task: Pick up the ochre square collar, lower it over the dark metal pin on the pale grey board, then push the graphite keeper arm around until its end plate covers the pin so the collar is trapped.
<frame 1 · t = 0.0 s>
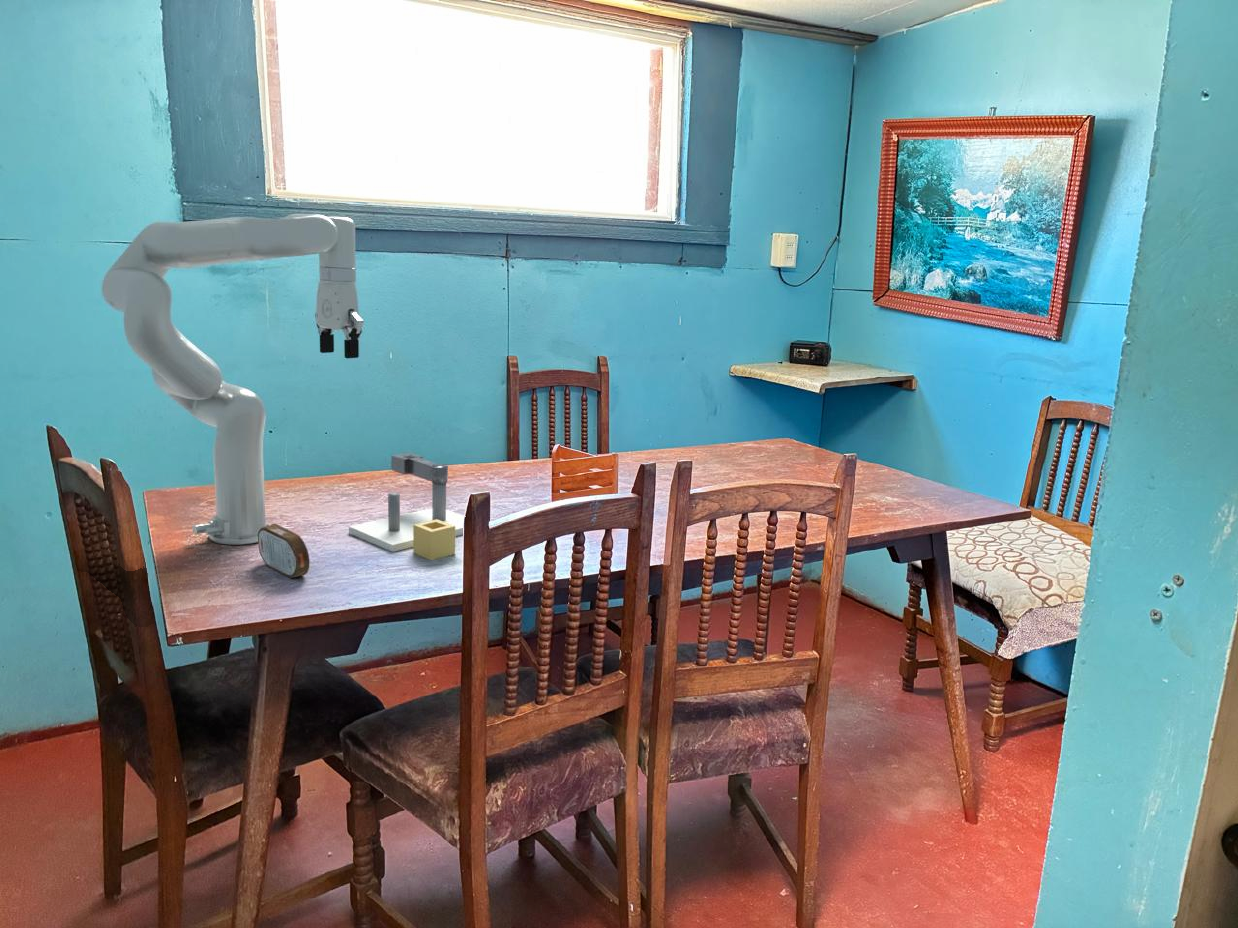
hand: (339, 355, 206), 37 cm above the table, tool pointing down, fingers open, 9 cm apart
collar: (434, 553, 193), on the table
tin: (283, 572, 179), on the table
keeper: (421, 468, 212), point 12 cm above the table, hinge at -90.0°
pin board: (417, 531, 206), on the table
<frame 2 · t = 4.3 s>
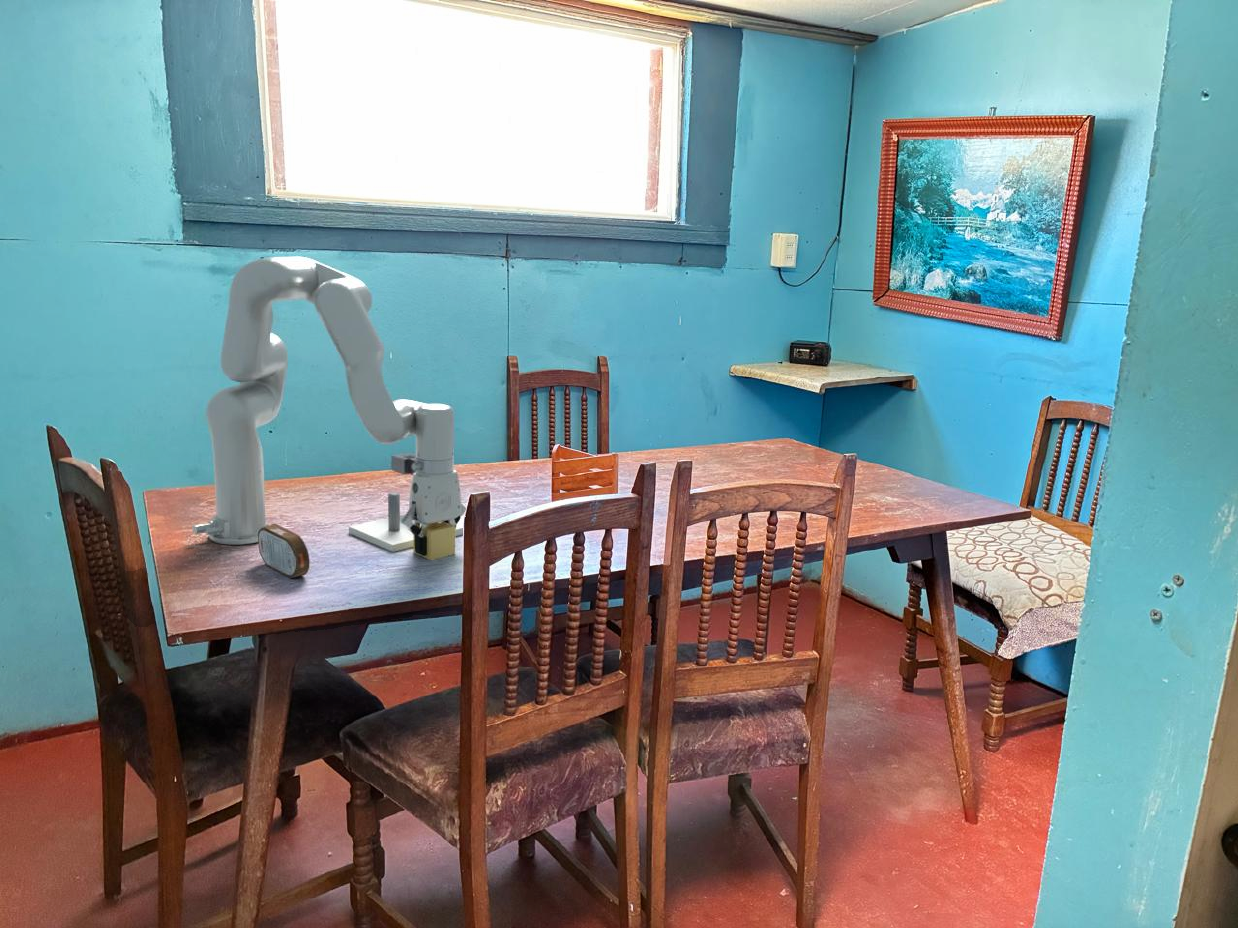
hand: (434, 549, 193), 1 cm above the table, tool pointing down, fingers closed on collar, 6 cm apart
collar: (434, 553, 193), on the table, touching gripper
everything else where it was.
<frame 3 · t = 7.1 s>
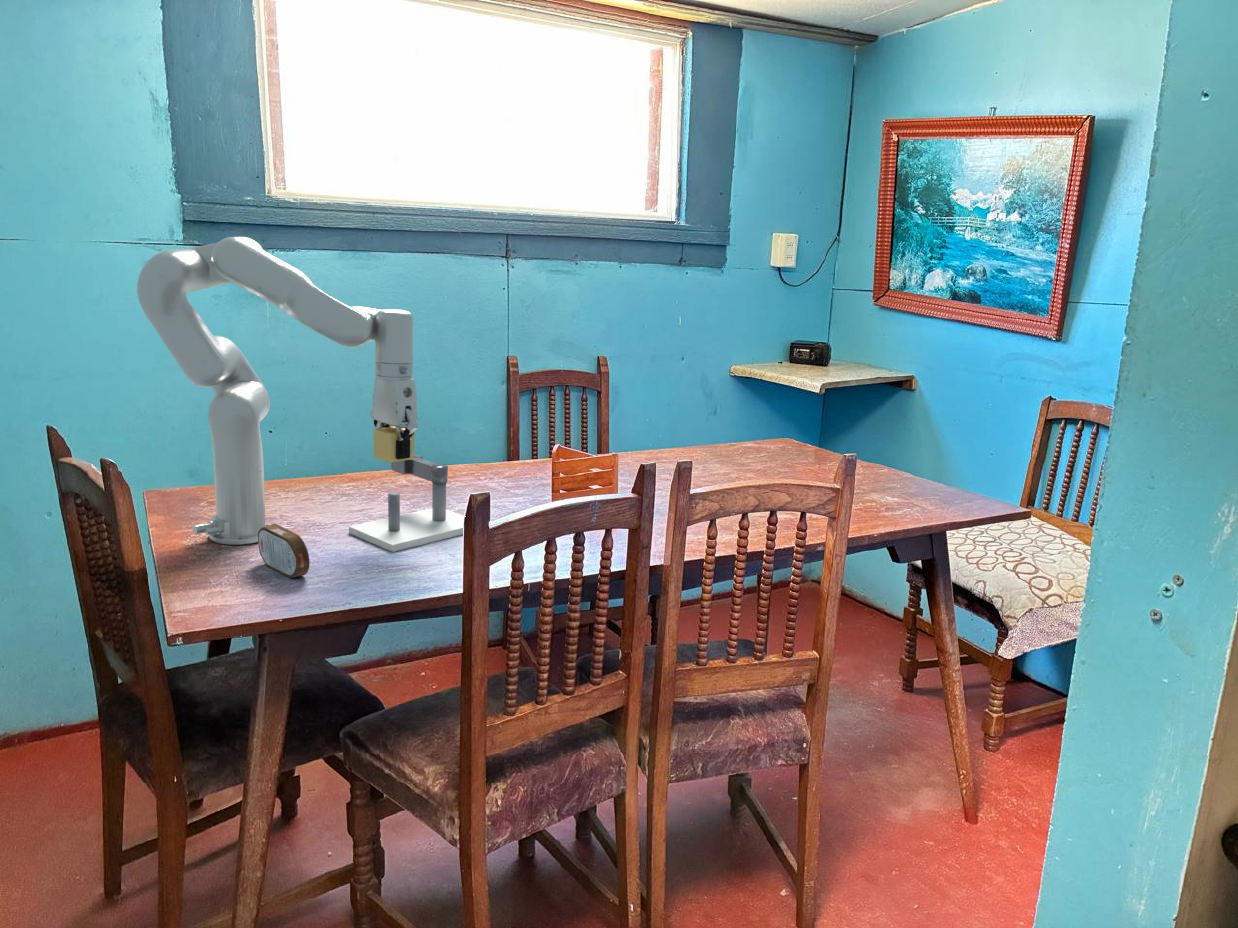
hand: (393, 454, 197), 18 cm above the table, tool pointing down, fingers closed on collar, 6 cm apart
collar: (393, 458, 198), point 17 cm above the table, touching gripper
everything else where it was.
when the fingers open (4 cm above the table, at t = 10.3 s): collar drops 2 cm, resting on pin board.
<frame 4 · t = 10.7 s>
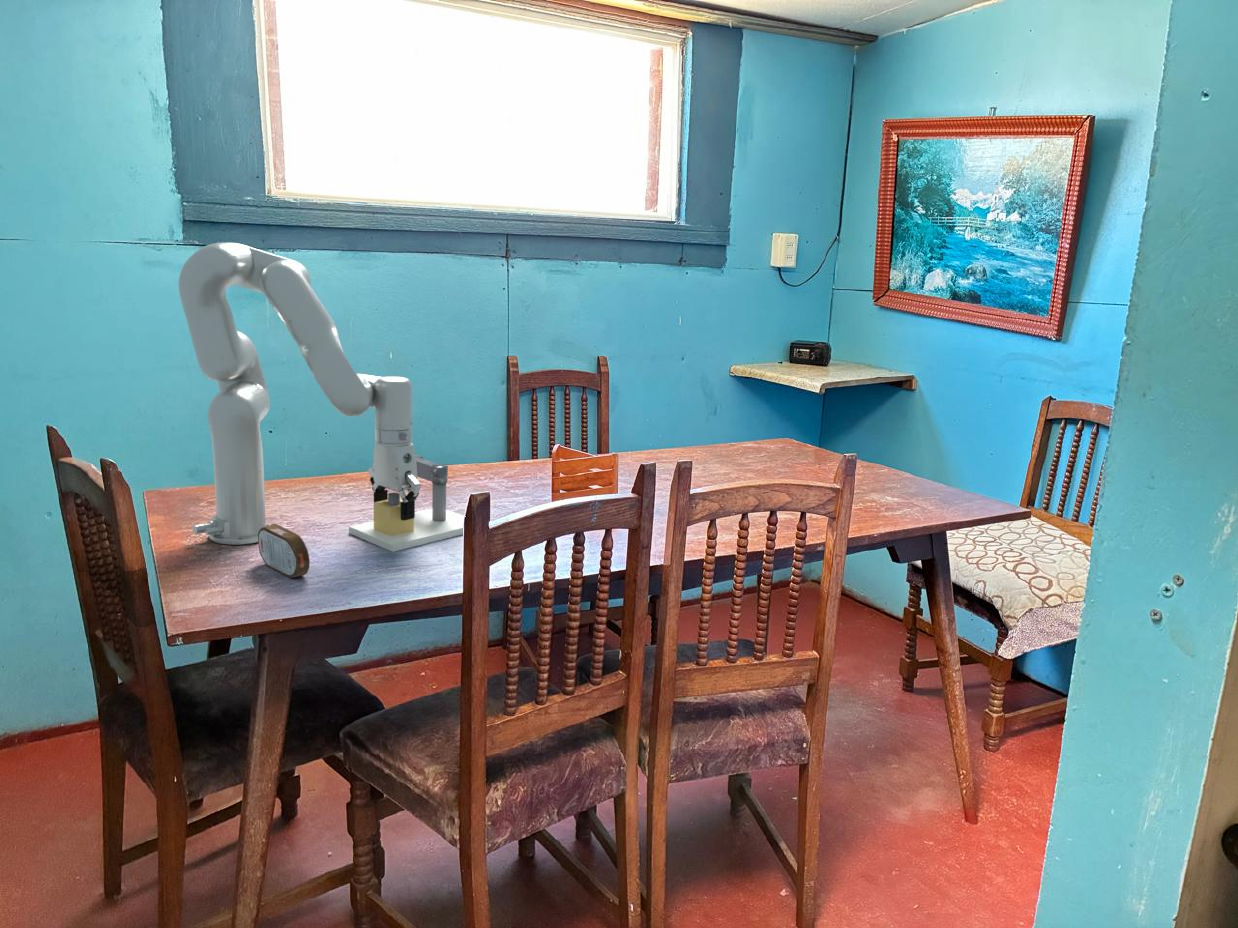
hand: (394, 513, 201), 5 cm above the table, tool pointing down, fingers open, 9 cm apart
collar: (393, 529, 202), point 1 cm above the table, touching pin board
everything else where it was.
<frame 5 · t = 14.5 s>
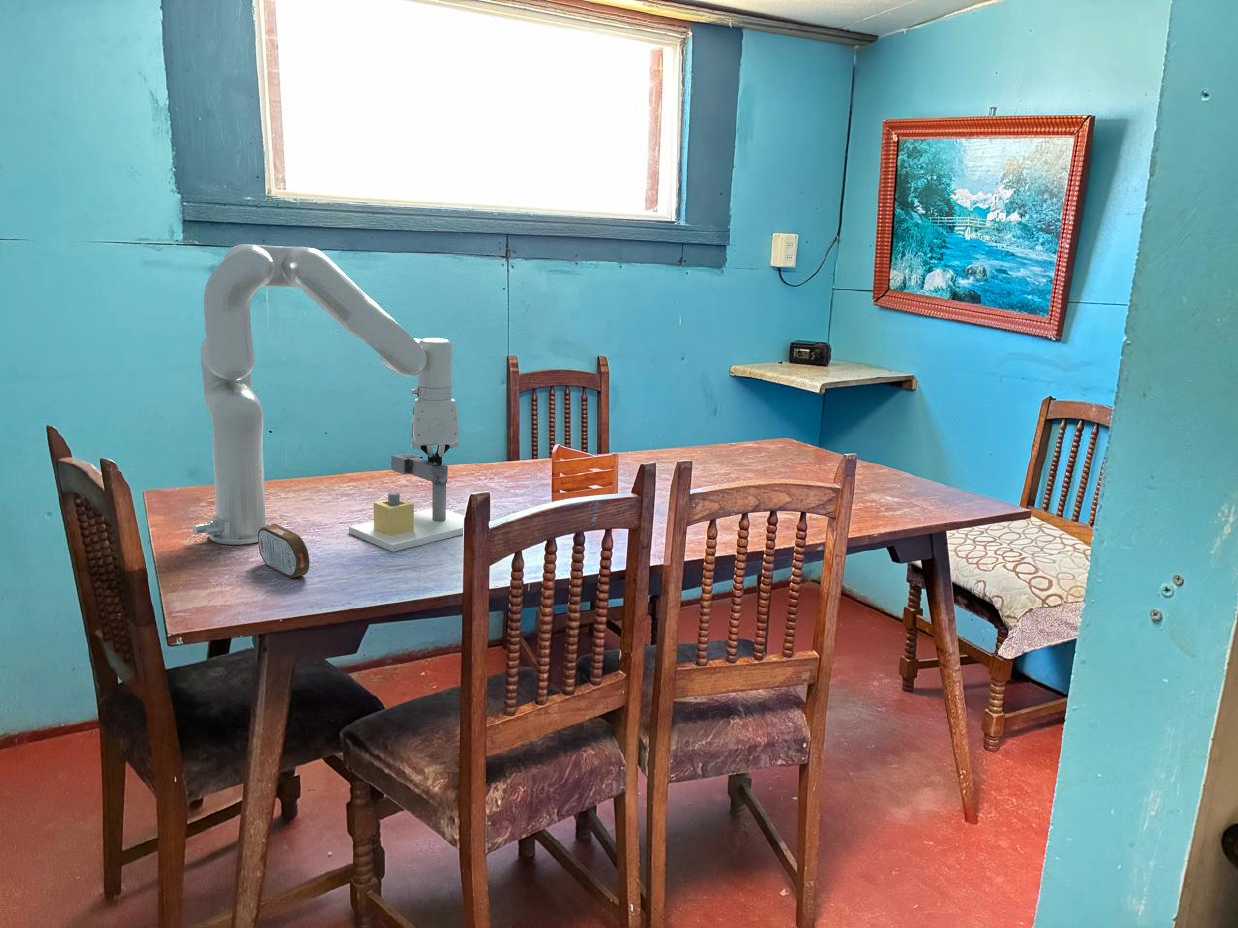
hand: (434, 472, 215), 11 cm above the table, tool pointing down, fingers closed
keeper: (421, 468, 212), point 12 cm above the table, hinge at -89.9°, touching gripper
everything else where it was.
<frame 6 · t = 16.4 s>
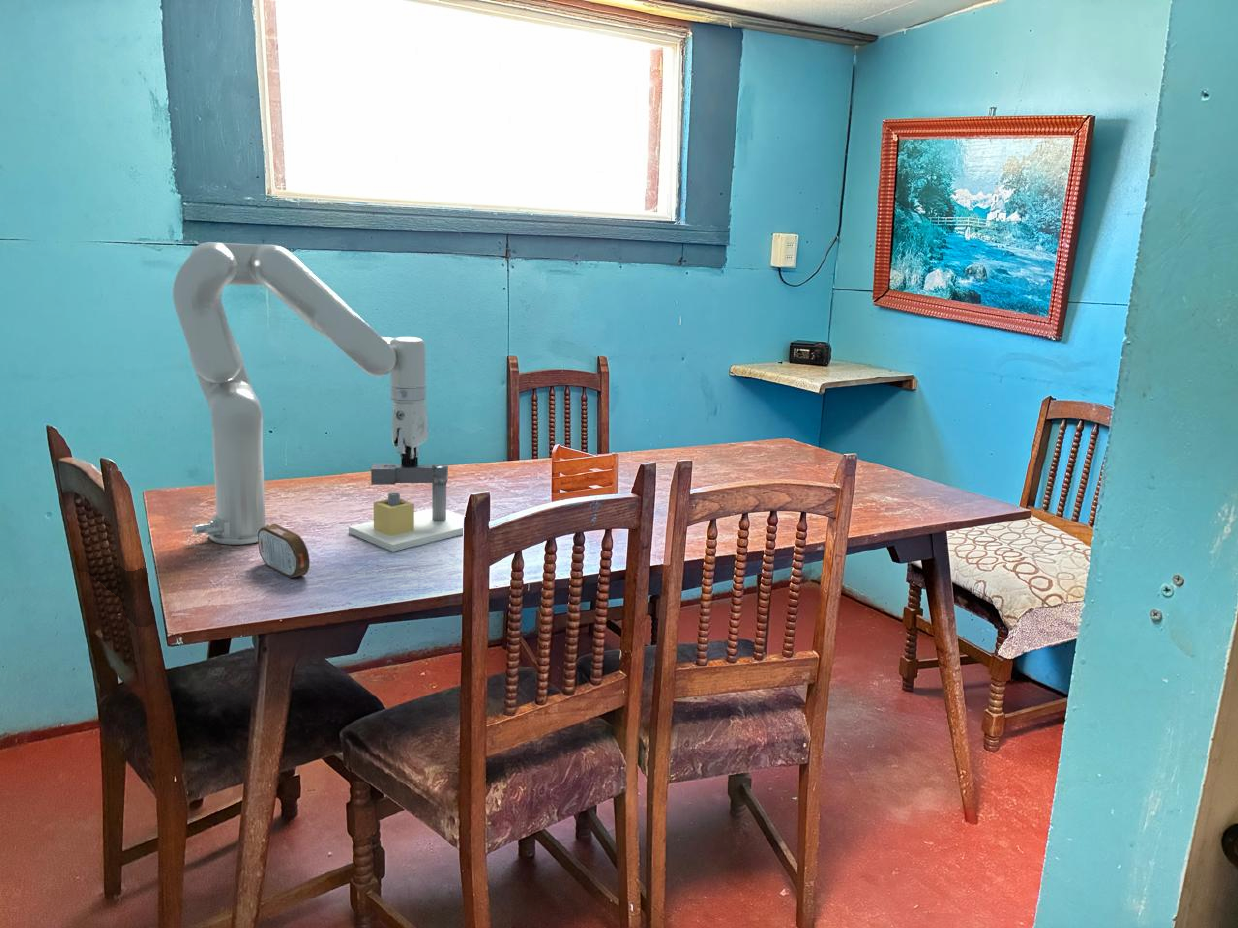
hand: (409, 474, 210), 11 cm above the table, tool pointing down, fingers closed
keeper: (410, 474, 207), point 12 cm above the table, hinge at -36.9°, touching gripper
everything else where it was.
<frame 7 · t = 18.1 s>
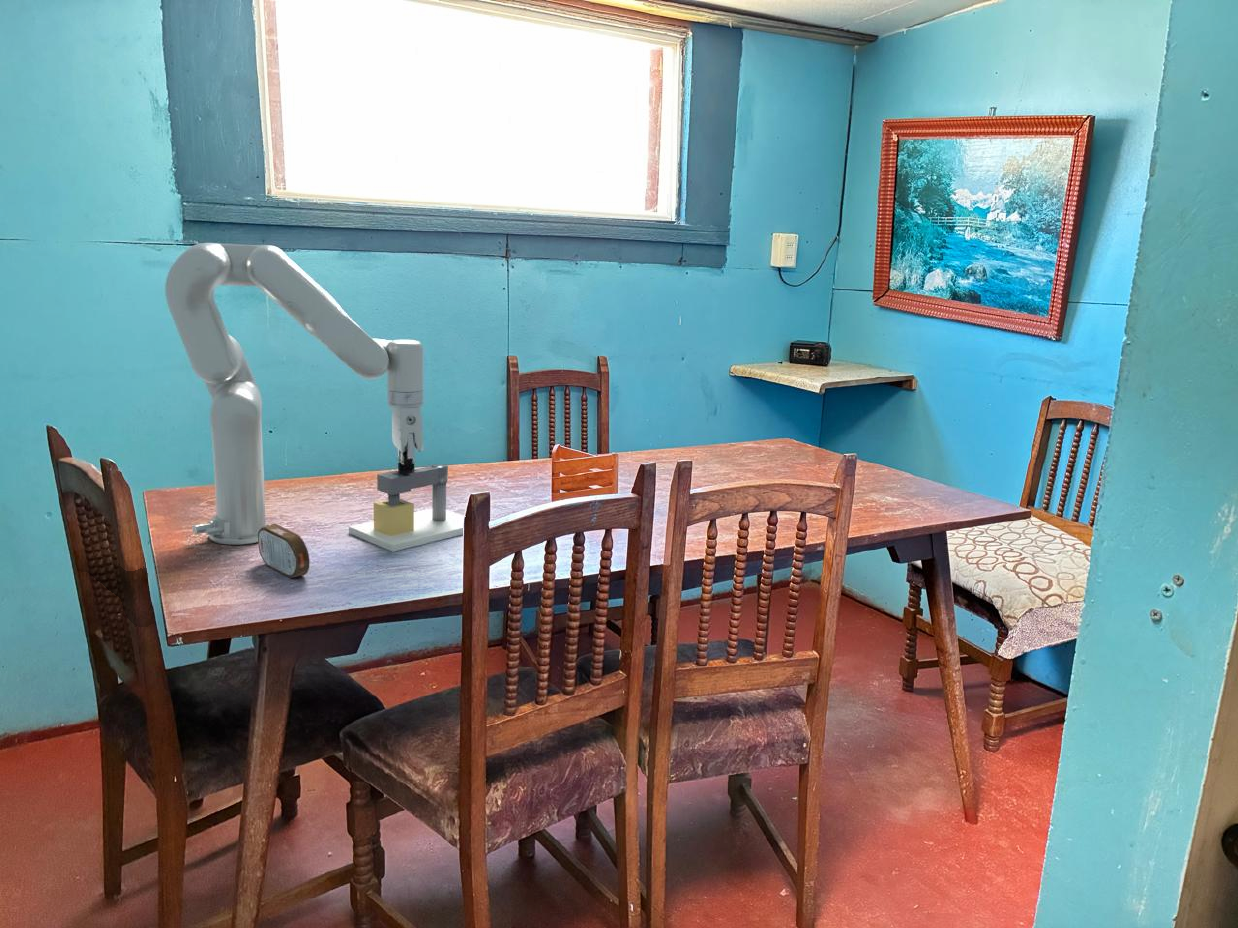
hand: (406, 480, 206), 11 cm above the table, tool pointing down, fingers closed
keeper: (416, 478, 203), point 12 cm above the table, hinge at 0.7°, touching gripper
everything else where it was.
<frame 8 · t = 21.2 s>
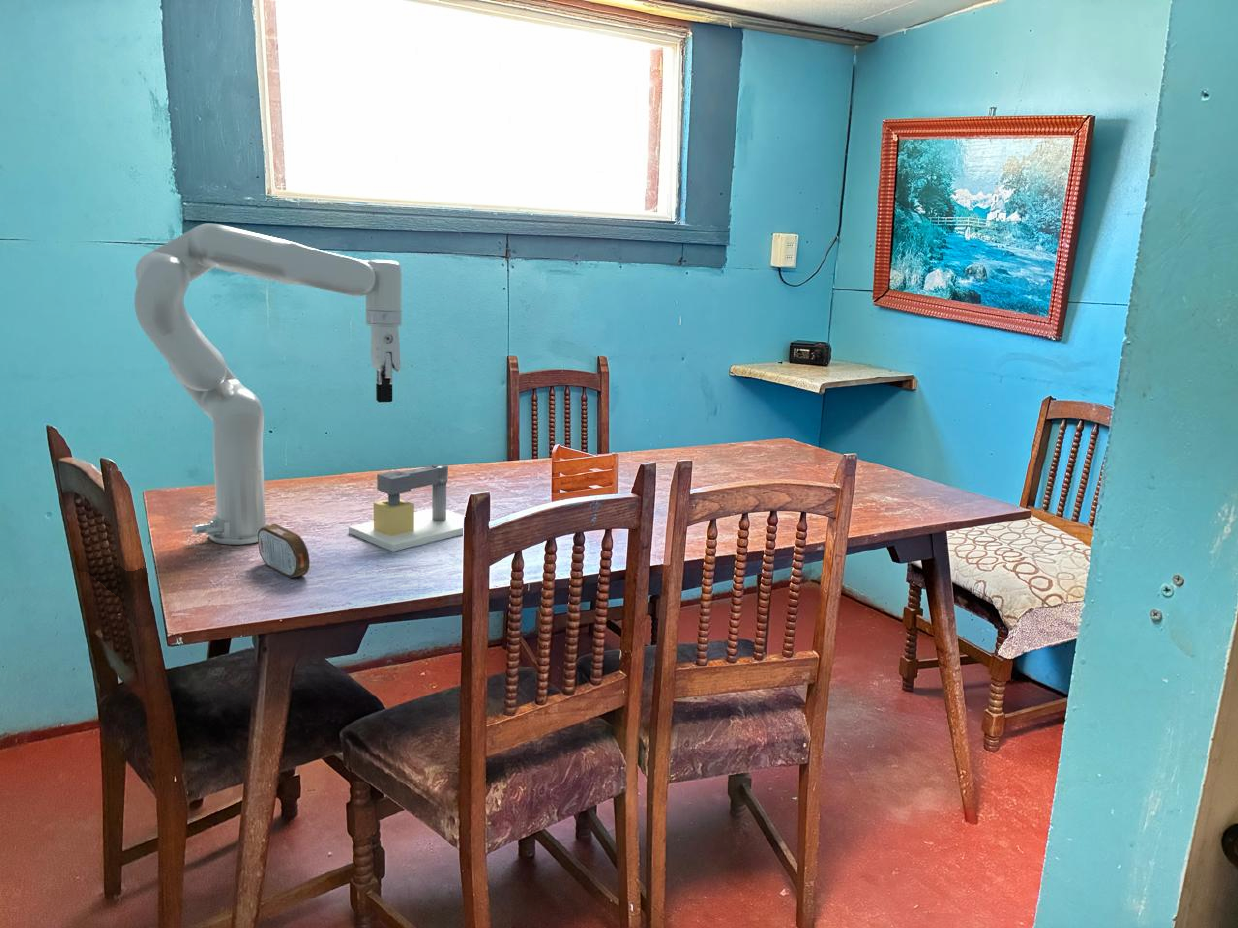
hand: (384, 401, 208), 27 cm above the table, tool pointing down, fingers closed
keeper: (416, 478, 203), point 12 cm above the table, hinge at 0.7°
everything else where it was.
at the end: collar 0.1 cm from the target spot on the pin board, point 1.5 cm above the pin board's base; keeper at +1° (first picture: -90°); collar tilted 0° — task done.
